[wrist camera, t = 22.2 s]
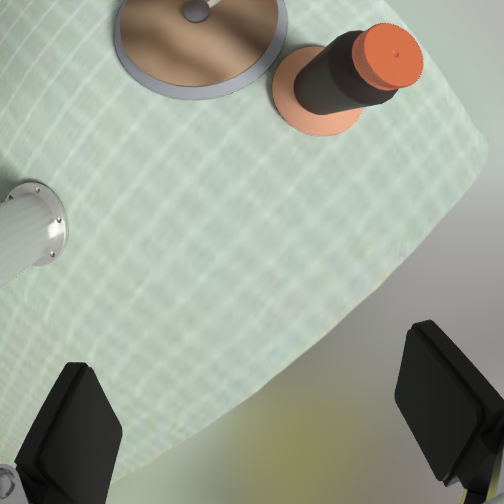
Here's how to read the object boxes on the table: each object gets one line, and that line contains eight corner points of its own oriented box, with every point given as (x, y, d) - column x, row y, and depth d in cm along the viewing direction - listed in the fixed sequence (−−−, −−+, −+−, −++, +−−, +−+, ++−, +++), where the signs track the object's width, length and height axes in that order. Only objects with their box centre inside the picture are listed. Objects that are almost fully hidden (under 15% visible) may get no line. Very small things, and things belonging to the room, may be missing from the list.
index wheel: (225, 113, 36) (225, 108, 30) (98, 54, 32) (75, 41, 25) (303, -2, 31) (316, -24, 25) (177, -54, 27) (170, -80, 20)
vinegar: (288, 65, 35) (341, 7, 16) (340, 63, 35) (424, 17, 16) (296, 117, 37) (358, 100, 18) (348, 114, 37) (440, 102, 18)
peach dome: (276, 139, 39) (278, 139, 38) (267, 49, 35) (268, 47, 34) (365, 134, 39) (368, 135, 38) (356, 49, 35) (359, 48, 34)
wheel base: (122, 114, 36) (113, 113, 33) (116, -25, 29) (108, -34, 26) (295, 91, 37) (301, 87, 34) (275, -47, 29) (279, -59, 26)
